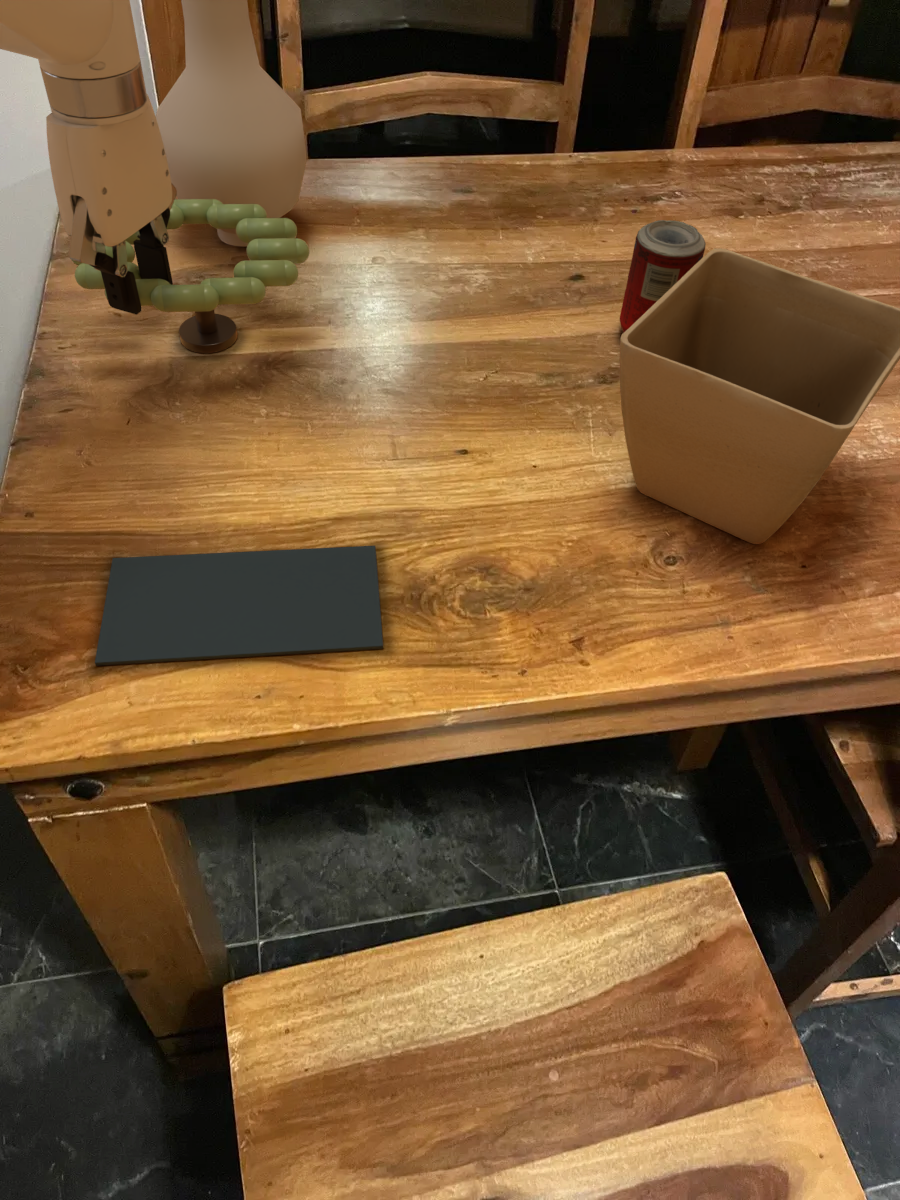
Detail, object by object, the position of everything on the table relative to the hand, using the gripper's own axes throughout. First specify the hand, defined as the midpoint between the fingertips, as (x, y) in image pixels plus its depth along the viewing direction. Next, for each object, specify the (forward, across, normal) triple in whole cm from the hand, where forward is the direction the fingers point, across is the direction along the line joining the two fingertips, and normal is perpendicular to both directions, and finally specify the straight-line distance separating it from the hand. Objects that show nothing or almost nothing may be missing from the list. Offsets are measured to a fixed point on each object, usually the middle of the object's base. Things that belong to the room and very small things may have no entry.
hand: (141, 294), depth 87 cm
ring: (0, -8, 0) cm, 9 cm away
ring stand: (+10, -9, 0) cm, 13 cm away
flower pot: (+10, -10, +56) cm, 57 cm away
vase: (+10, -30, -8) cm, 32 cm away
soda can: (+10, -30, +43) cm, 53 cm away
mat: (+10, +22, +23) cm, 33 cm away
